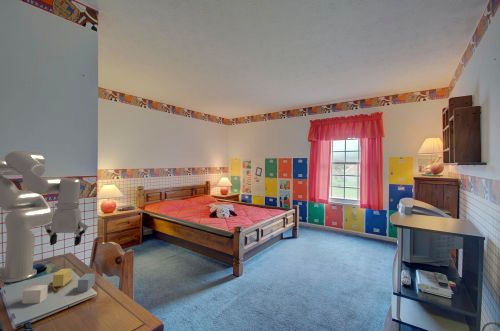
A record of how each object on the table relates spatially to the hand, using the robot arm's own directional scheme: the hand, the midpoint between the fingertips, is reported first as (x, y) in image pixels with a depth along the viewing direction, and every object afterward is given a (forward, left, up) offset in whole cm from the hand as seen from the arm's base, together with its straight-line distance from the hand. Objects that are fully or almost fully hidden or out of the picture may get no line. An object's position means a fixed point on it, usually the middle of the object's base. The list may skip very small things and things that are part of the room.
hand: (65, 244), depth 105 cm
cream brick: (-3, -12, -18) cm, 22 cm away
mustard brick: (0, -1, -17) cm, 17 cm away
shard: (0, 0, -19) cm, 19 cm away
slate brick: (+11, -3, -18) cm, 21 cm away
